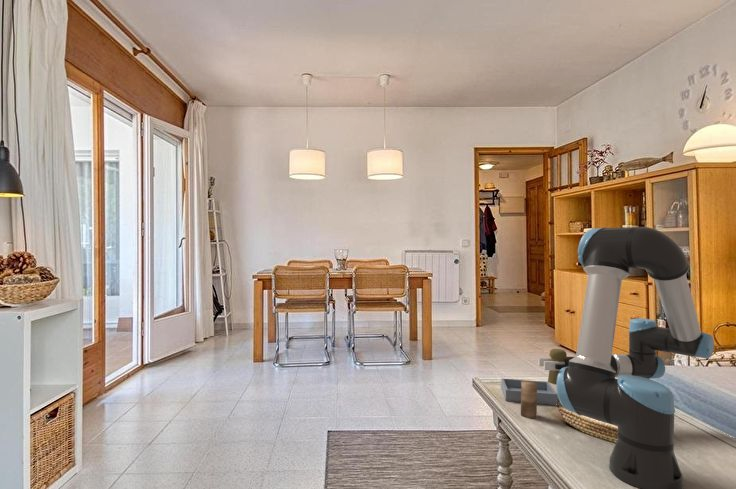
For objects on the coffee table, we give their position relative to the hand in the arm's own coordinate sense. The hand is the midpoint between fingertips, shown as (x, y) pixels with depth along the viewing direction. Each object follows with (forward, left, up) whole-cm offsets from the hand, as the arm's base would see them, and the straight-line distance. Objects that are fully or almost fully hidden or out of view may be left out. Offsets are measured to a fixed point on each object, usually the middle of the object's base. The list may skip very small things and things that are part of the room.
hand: (541, 363), depth 141 cm
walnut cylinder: (+1, +4, -18) cm, 18 cm away
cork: (+1, -5, -6) cm, 8 cm away
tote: (+21, +1, -18) cm, 28 cm away
